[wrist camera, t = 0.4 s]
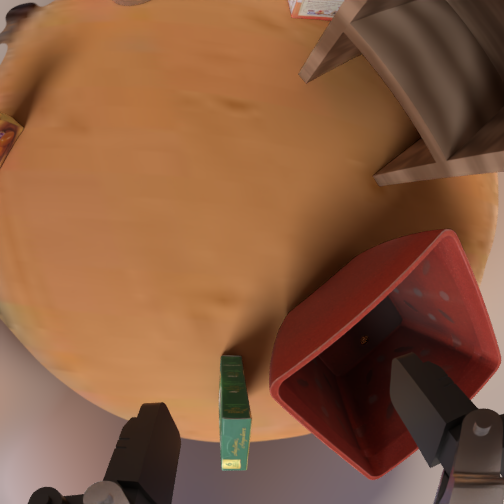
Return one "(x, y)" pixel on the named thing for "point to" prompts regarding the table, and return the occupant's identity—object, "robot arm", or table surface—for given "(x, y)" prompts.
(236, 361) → the coffee box
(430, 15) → the walnut shelf
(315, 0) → the cracker box
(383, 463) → the plant pot
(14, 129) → the candy box
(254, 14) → the table surface
